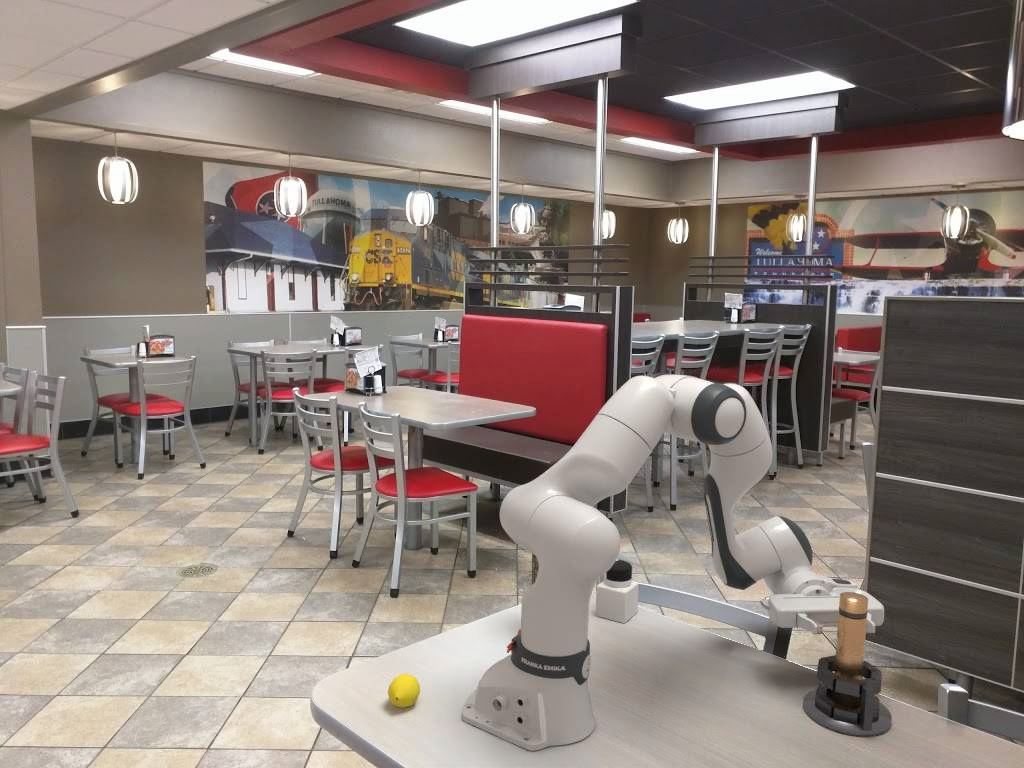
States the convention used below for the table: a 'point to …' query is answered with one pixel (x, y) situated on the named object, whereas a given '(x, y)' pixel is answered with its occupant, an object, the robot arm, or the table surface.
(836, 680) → the collar stand
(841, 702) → the tube
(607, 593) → the medicine bottle
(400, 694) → the lemon
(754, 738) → the table surface
